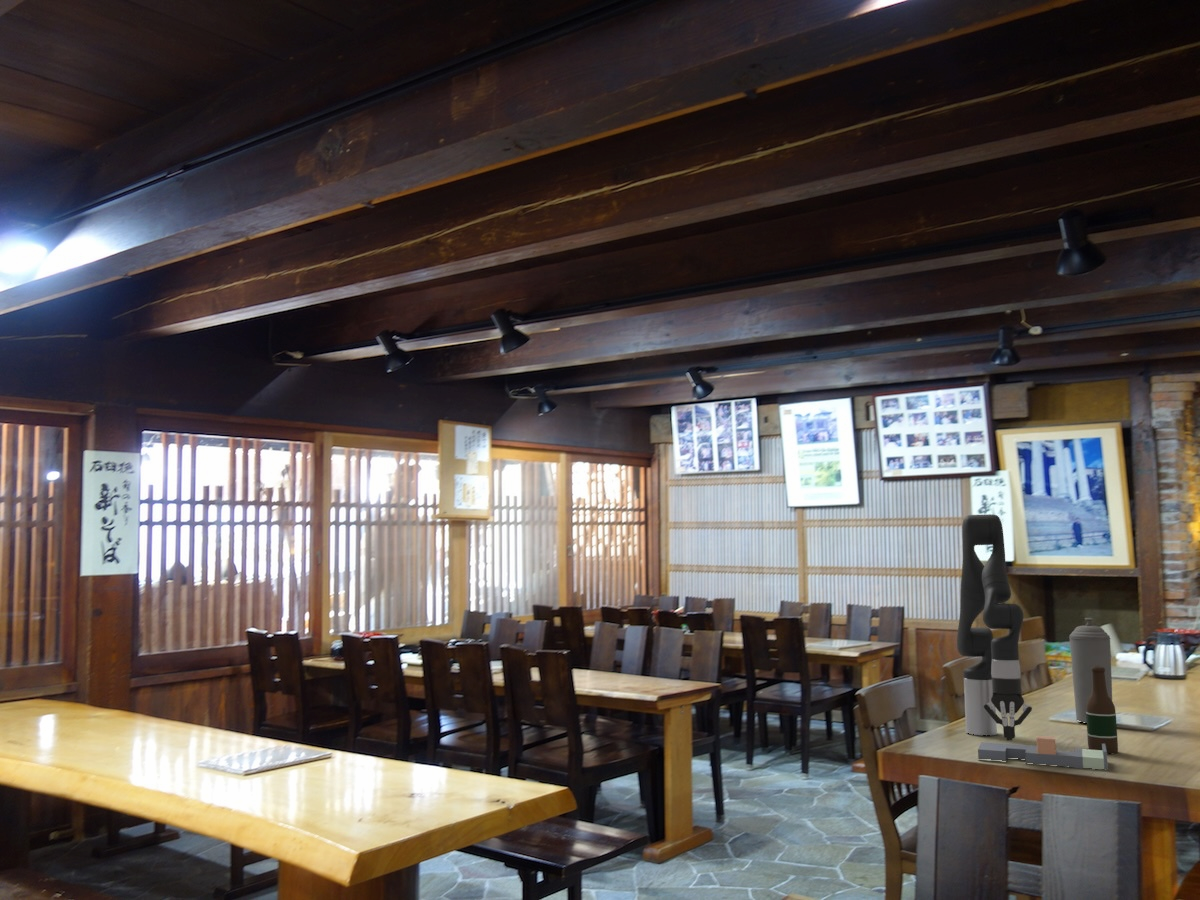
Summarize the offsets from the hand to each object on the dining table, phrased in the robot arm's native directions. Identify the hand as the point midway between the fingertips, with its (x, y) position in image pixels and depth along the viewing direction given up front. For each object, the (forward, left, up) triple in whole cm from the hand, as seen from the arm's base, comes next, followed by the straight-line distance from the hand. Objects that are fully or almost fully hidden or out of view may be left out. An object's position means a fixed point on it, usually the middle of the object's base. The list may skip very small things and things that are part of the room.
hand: (1009, 740), depth 270 cm
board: (-3, +7, -6) cm, 10 cm away
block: (+1, +9, -3) cm, 10 cm away
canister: (-77, +22, -6) cm, 81 cm away
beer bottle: (-24, +23, -6) cm, 34 cm away
